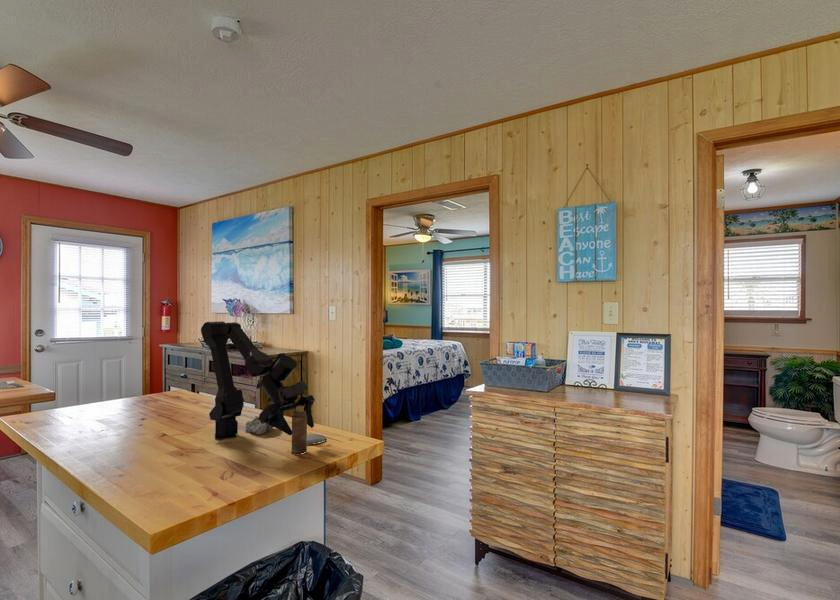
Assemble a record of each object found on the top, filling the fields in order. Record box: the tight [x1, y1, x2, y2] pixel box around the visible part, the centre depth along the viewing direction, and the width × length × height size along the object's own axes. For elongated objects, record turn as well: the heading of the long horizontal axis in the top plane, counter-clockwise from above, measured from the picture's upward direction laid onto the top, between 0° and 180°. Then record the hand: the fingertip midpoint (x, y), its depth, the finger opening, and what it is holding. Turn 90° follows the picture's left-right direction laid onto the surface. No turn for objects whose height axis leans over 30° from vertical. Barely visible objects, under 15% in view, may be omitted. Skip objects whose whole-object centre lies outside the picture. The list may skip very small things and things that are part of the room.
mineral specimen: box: [244, 415, 274, 435], centre depth 157 cm, size 6×11×12 cm
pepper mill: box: [291, 405, 308, 455], centre depth 134 cm, size 4×4×14 cm
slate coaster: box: [307, 433, 327, 444], centre depth 146 cm, size 10×10×1 cm
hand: (302, 430), depth 133 cm, fingers open, 9 cm apart
